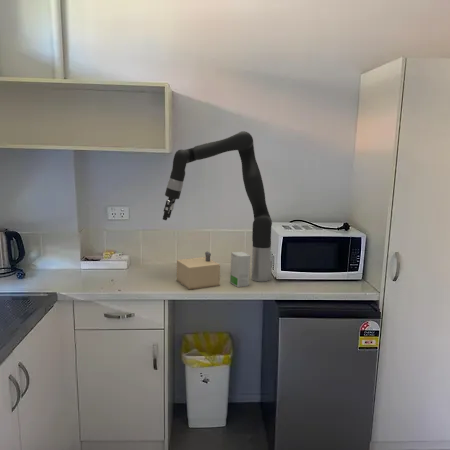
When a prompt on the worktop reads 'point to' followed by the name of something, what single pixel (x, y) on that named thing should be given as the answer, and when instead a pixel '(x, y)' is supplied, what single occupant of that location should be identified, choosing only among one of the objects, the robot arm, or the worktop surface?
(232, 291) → the worktop surface
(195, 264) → the lid flap
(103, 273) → the worktop surface
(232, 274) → the skincare box
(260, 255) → the robot arm
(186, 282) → the carton
